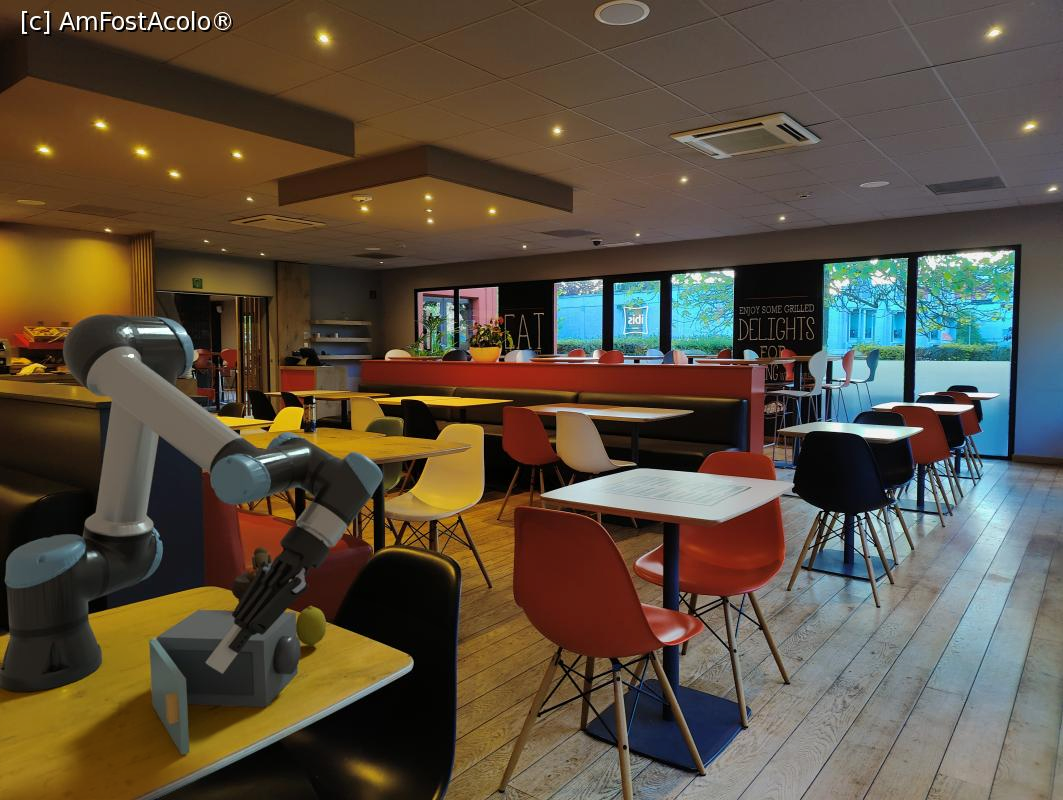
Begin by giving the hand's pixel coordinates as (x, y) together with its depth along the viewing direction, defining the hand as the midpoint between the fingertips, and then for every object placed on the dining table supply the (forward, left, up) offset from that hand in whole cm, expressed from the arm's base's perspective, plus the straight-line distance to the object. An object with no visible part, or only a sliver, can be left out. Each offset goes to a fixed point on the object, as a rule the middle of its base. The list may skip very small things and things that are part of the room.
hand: (214, 668), depth 106 cm
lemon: (+2, +30, -10) cm, 32 cm away
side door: (-8, -1, -9) cm, 12 cm away
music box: (-8, +29, -10) cm, 32 cm away
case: (-4, +13, -10) cm, 17 cm away
